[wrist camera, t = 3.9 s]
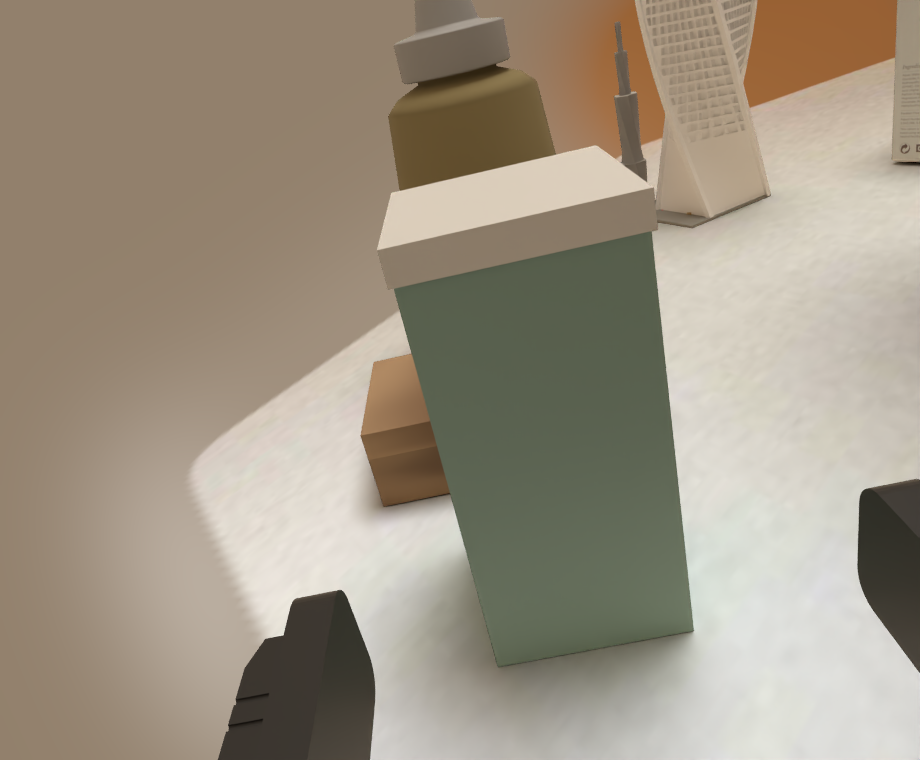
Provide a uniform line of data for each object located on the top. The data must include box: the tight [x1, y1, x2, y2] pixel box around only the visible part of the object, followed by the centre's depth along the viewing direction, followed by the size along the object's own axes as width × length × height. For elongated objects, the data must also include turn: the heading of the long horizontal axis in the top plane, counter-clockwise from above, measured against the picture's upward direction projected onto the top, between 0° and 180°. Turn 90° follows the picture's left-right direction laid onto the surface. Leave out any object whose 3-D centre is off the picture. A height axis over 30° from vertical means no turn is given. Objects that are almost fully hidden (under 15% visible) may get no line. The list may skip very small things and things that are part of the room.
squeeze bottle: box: [388, 0, 556, 191], centre depth 32 cm, size 8×8×18 cm
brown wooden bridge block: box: [361, 354, 450, 506], centre depth 28 cm, size 8×6×3 cm
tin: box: [377, 146, 694, 667], centre depth 18 cm, size 5×5×11 cm
